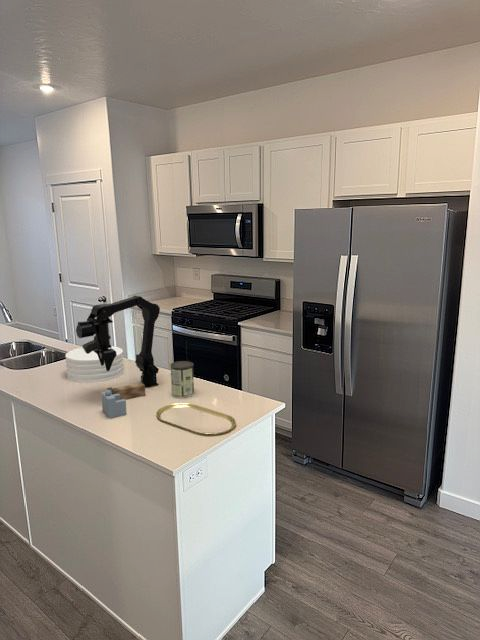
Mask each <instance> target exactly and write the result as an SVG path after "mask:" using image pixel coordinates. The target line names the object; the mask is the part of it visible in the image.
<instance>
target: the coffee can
mask: <svg viewBox="0 0 480 640" xmlns="http://www.w3.org/2000/svg"><path fill="white" fill-rule="evenodd" d="M169 366H170V381H171V385H170V386H171V396H172V397H174V398H179V399H186V398H190V397H192V396H194V394H195V384H194V383H195V382H194V363H193V362H191V361H188V360H179V361H174V362H172V363H170V365H169Z"/></svg>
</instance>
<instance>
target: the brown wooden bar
mask: <svg viewBox="0 0 480 640" xmlns="http://www.w3.org/2000/svg"><path fill="white" fill-rule="evenodd" d="M106 390H110V391H111V392H112V395H114V394H120V400H122V399H125V400H126V401H127V400H130V399H135V398H140V397H141V398H142V397H145V396H146V387H145V385H144V384H143V383H141V382H140V383H133V384H129V385H124V386H118V387H113V388H112V387H107V388H106Z"/></svg>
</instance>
